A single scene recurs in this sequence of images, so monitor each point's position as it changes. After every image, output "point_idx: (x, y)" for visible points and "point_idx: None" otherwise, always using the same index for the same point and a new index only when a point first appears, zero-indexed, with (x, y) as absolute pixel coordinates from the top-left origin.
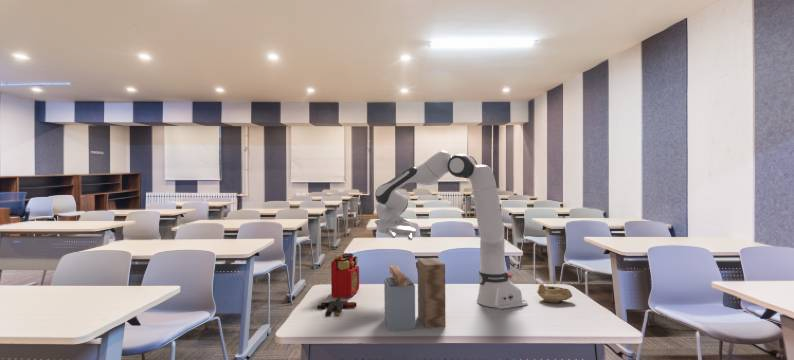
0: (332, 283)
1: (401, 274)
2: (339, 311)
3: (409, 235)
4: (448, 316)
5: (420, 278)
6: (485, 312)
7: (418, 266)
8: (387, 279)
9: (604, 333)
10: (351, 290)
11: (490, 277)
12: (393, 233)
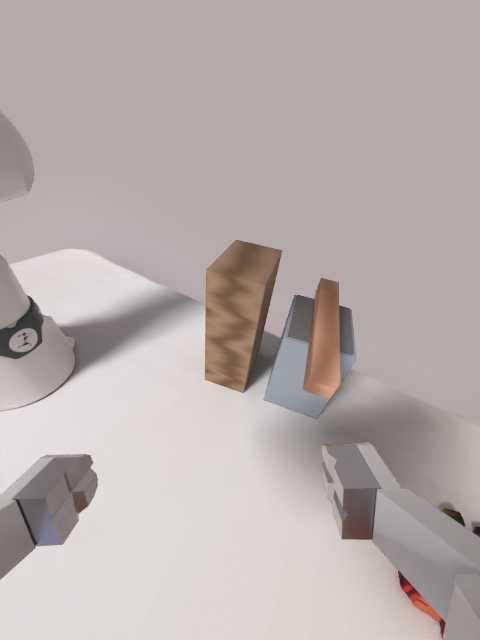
0: None
1: (325, 295)
2: (449, 509)
3: (42, 492)
4: (189, 365)
5: (264, 309)
6: (114, 345)
7: (263, 299)
8: (350, 339)
9: (91, 257)
10: None
11: (37, 307)
12: (366, 475)
